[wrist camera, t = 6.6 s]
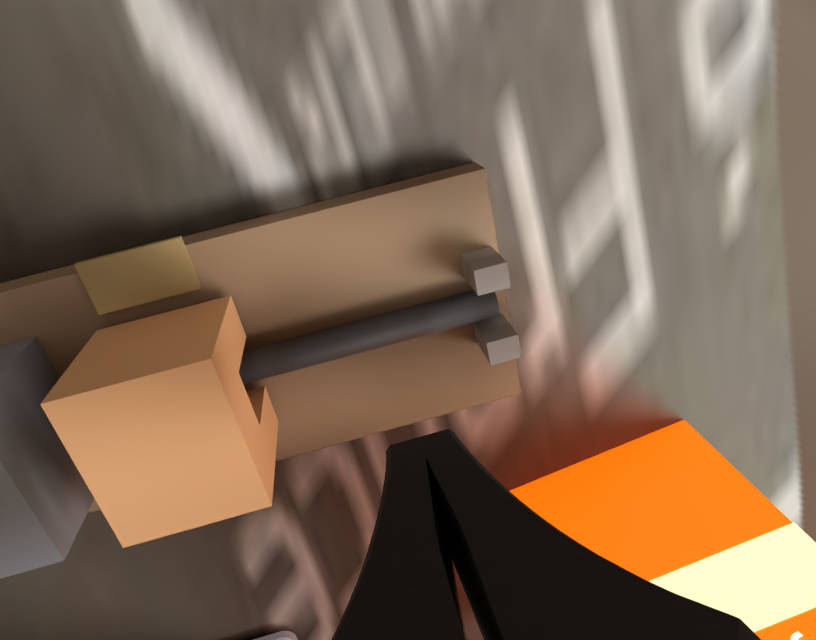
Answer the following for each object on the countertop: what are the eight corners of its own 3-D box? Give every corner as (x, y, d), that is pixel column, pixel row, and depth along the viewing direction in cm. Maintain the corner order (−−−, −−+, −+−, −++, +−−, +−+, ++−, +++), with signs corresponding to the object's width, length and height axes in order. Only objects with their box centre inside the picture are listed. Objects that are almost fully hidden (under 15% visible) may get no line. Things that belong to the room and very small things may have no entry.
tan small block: (278, 421, 20) (271, 506, 16) (158, 453, 19) (122, 548, 16) (230, 295, 18) (210, 358, 14) (96, 330, 17) (40, 404, 14)
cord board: (511, 383, 22) (566, 471, 17) (57, 508, 21) (-13, 636, 17) (473, 152, 19) (529, 184, 14) (-77, 292, 18) (-216, 377, 13)
